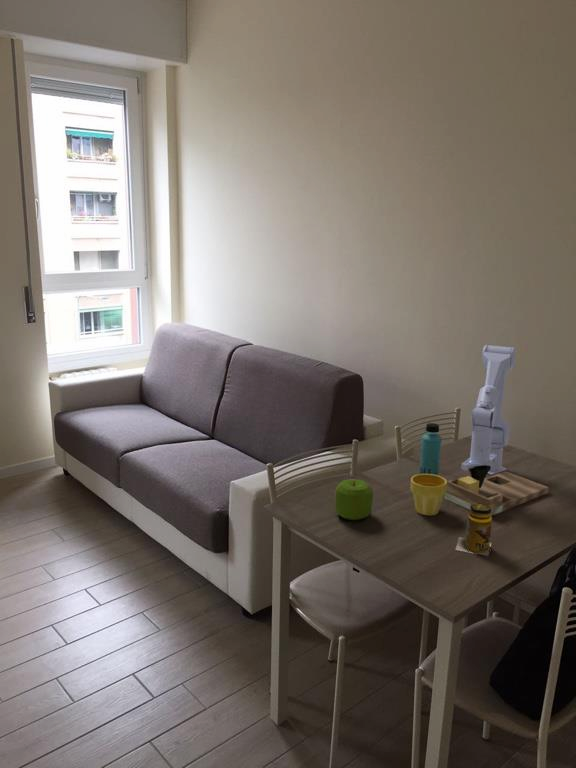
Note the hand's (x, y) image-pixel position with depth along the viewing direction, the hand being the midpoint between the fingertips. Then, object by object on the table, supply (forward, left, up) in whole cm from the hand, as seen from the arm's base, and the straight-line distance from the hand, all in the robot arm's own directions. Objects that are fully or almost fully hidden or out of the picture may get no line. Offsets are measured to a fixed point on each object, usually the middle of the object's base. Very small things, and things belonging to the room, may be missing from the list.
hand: (477, 487), depth 201 cm
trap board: (+3, +5, -3) cm, 7 cm away
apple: (-12, -41, -3) cm, 42 cm away
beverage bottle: (-16, -5, -3) cm, 16 cm away
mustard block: (-1, -4, -1) cm, 4 cm away
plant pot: (-2, -21, -3) cm, 21 cm away
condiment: (+20, -27, -3) cm, 34 cm away
